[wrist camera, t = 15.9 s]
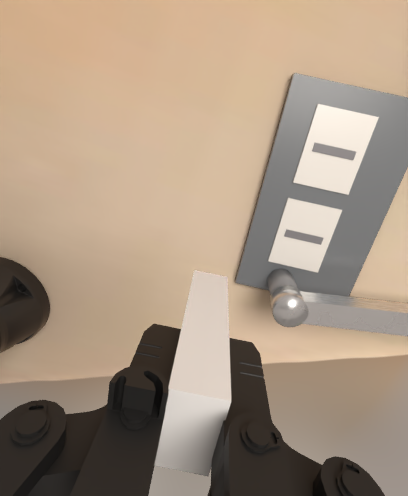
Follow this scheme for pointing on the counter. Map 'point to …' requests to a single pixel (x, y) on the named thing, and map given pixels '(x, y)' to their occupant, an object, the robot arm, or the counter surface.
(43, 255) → the counter surface
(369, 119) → the label board
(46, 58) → the counter surface
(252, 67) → the counter surface
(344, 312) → the swing arm
